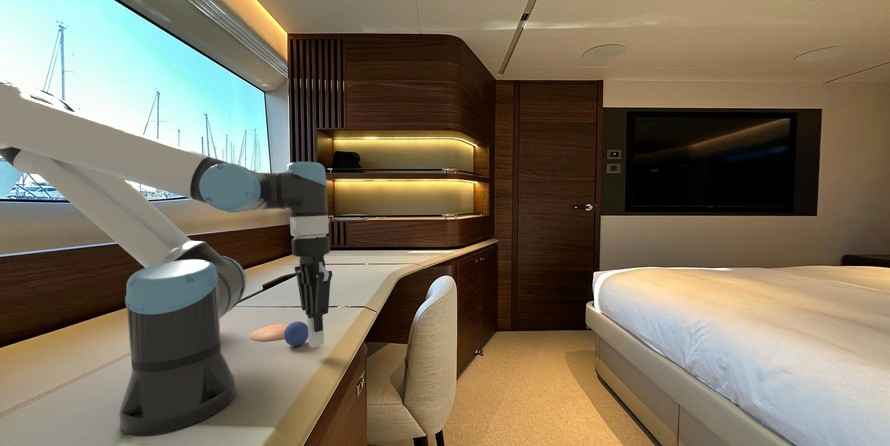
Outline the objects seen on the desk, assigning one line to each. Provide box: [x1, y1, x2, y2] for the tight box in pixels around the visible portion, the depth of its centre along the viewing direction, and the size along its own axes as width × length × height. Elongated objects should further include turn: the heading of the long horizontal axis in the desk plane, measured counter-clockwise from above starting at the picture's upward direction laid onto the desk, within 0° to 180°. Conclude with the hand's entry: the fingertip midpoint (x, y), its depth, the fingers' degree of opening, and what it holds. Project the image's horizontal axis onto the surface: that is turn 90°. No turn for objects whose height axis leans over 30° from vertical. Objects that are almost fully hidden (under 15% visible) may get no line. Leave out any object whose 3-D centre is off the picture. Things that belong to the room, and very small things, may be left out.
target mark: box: [250, 322, 292, 342], centre depth 92 cm, size 12×12×1 cm
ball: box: [283, 320, 309, 347], centre depth 83 cm, size 6×6×6 cm
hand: (316, 344), depth 76 cm, fingers closed
